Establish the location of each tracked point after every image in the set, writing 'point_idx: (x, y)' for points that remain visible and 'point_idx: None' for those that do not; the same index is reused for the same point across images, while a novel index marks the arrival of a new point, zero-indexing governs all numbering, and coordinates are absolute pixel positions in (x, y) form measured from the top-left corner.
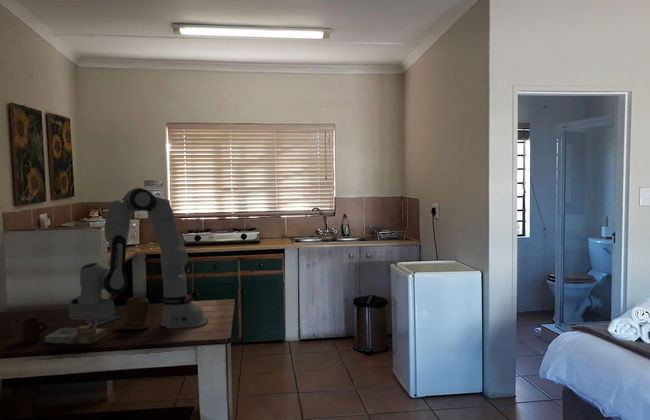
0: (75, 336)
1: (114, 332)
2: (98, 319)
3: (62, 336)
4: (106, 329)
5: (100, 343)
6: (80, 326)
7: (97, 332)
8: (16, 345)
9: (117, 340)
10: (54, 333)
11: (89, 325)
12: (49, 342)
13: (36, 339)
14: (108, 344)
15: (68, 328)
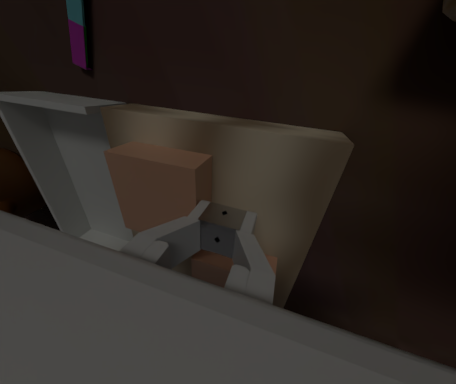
0: (182, 269)
1: (421, 82)
2: (271, 302)
3: (87, 168)
4: (346, 158)
5: (326, 305)
6: (113, 179)
7: (282, 242)
8: (33, 218)
9: (437, 302)
10: (48, 187)
11: (196, 246)
12: (105, 234)
13: (40, 203)
14: (374, 333)
15: (27, 104)
